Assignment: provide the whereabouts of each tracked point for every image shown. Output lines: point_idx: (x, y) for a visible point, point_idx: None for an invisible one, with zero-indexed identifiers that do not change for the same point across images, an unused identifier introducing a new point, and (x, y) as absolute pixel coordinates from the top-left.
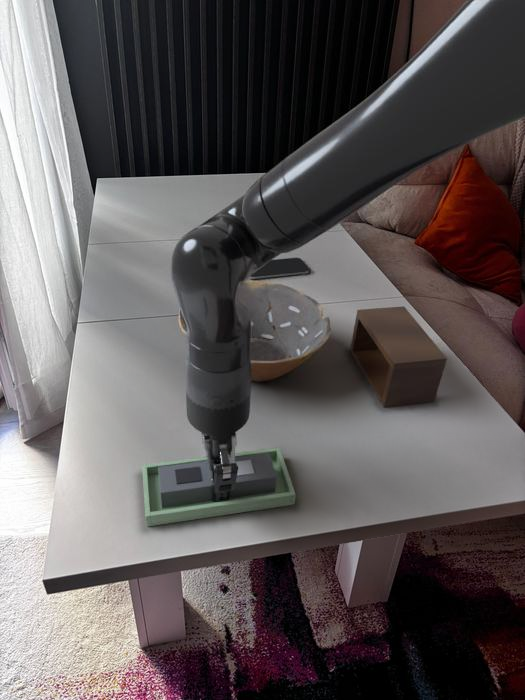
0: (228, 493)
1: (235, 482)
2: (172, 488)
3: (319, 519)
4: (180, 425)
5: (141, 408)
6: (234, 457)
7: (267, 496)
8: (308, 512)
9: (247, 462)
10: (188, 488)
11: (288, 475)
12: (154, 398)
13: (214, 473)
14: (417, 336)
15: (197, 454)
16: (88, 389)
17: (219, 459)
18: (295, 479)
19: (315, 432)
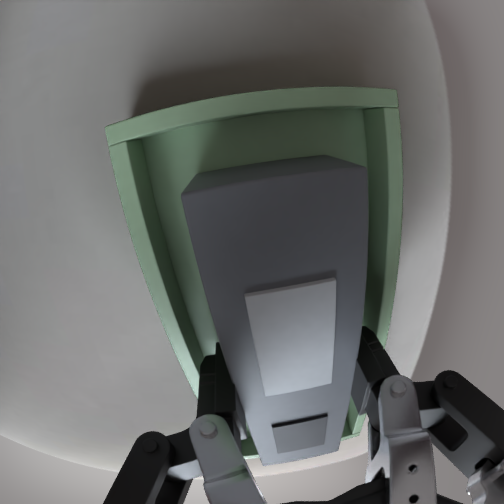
0: (361, 335)
1: (498, 406)
2: (333, 443)
3: (414, 43)
4: (79, 390)
5: (72, 427)
6: (433, 469)
7: (394, 204)
8: (394, 61)
9: (263, 309)
10: (342, 426)
11: (293, 91)
12: (42, 410)
13: (462, 471)
14: None
15: (154, 372)
16: (75, 457)
17: (379, 475)
18: (249, 64)
19: (34, 21)
